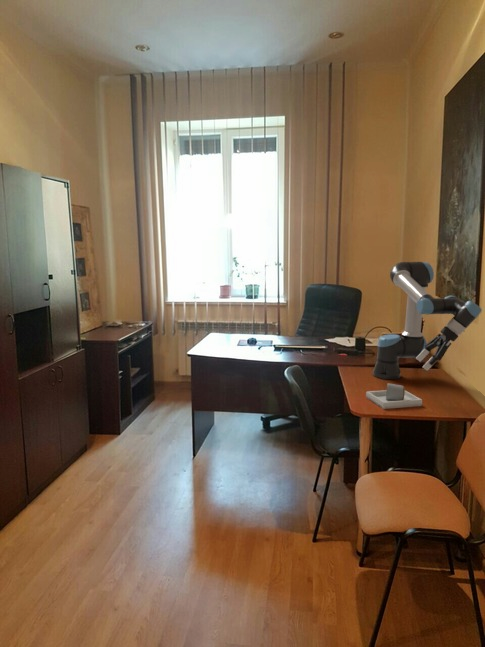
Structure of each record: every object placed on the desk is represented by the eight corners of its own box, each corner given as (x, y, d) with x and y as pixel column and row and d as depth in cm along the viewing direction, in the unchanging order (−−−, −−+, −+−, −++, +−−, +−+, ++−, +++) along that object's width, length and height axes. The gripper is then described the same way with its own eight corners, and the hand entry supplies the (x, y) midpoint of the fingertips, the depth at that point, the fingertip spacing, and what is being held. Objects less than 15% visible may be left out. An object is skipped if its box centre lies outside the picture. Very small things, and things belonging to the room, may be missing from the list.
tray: (365, 397, 226) (366, 391, 226) (402, 394, 231) (402, 389, 230) (383, 408, 211) (383, 402, 210) (421, 405, 215) (422, 399, 215)
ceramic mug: (404, 403, 216) (405, 387, 214) (386, 401, 218) (387, 385, 217) (402, 396, 226) (403, 381, 225) (385, 394, 228) (386, 379, 227)
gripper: (467, 342, 203) (434, 377, 208) (450, 329, 227) (421, 361, 232) (454, 332, 203) (421, 368, 208) (438, 319, 227) (409, 352, 232)
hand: (421, 364), depth 220 cm, fingers open, 13 cm apart
